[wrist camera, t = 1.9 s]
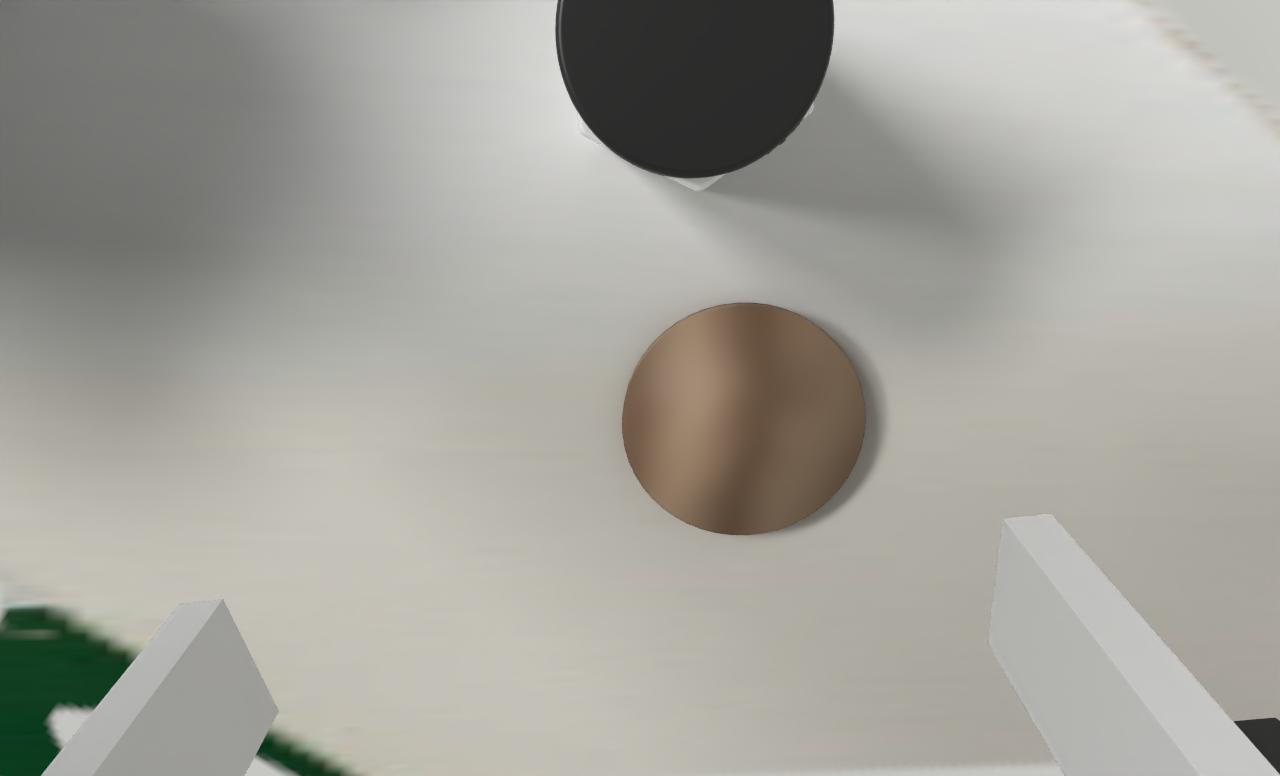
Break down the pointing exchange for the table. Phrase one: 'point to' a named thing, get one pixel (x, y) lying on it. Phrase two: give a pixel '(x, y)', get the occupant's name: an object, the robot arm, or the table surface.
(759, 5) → the jar
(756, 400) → the candle base
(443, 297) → the table surface
